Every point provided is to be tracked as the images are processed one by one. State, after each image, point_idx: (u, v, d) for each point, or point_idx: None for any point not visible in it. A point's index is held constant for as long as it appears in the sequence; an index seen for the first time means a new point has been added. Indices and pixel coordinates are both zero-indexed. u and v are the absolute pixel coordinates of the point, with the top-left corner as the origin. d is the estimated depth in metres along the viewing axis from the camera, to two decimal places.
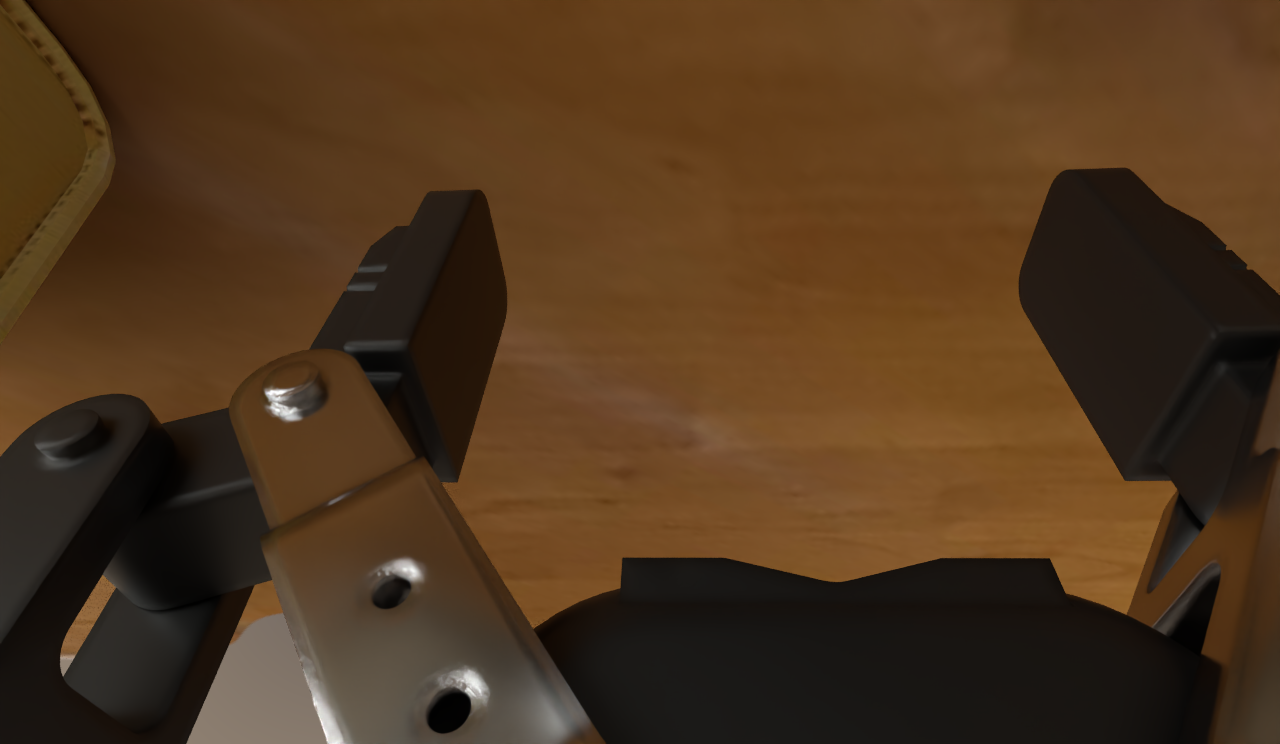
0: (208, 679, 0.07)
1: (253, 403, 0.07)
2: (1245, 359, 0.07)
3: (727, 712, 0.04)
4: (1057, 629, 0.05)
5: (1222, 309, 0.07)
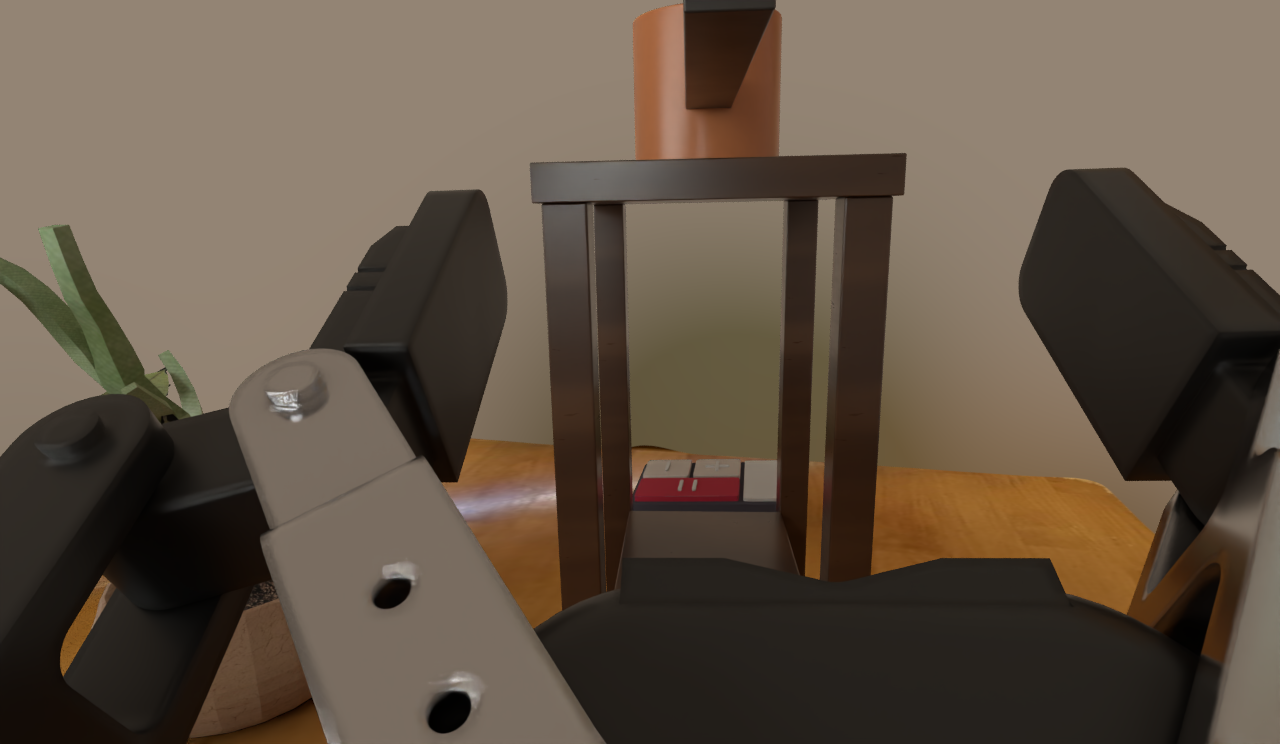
0: (208, 680, 0.07)
1: (253, 403, 0.07)
2: (1244, 359, 0.07)
3: (727, 712, 0.04)
4: (1057, 629, 0.05)
5: (1221, 309, 0.07)
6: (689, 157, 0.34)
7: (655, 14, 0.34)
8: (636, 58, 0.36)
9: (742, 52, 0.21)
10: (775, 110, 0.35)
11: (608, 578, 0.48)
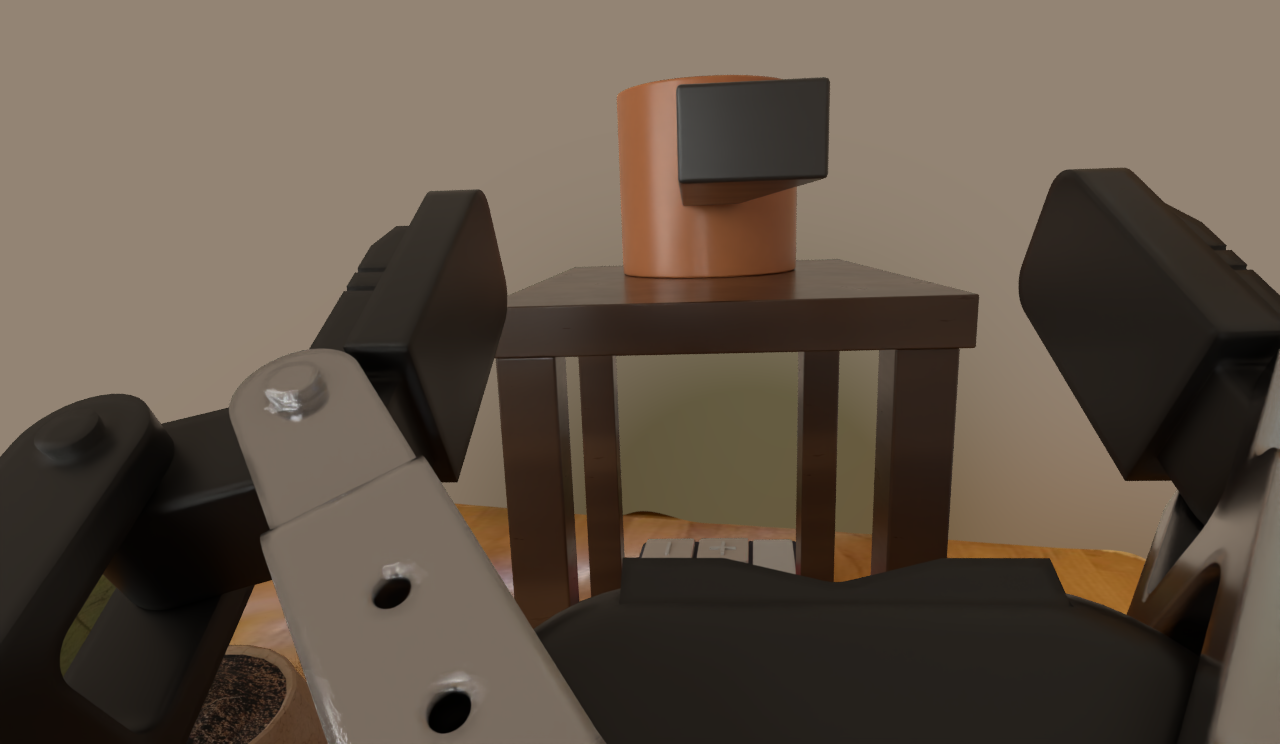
0: (209, 679, 0.07)
1: (253, 403, 0.07)
2: (1244, 359, 0.07)
3: (726, 712, 0.04)
4: (1056, 629, 0.05)
5: (1221, 309, 0.07)
6: (687, 263, 0.28)
7: (643, 90, 0.27)
8: (621, 139, 0.29)
9: (763, 191, 0.15)
10: (791, 200, 0.29)
11: None
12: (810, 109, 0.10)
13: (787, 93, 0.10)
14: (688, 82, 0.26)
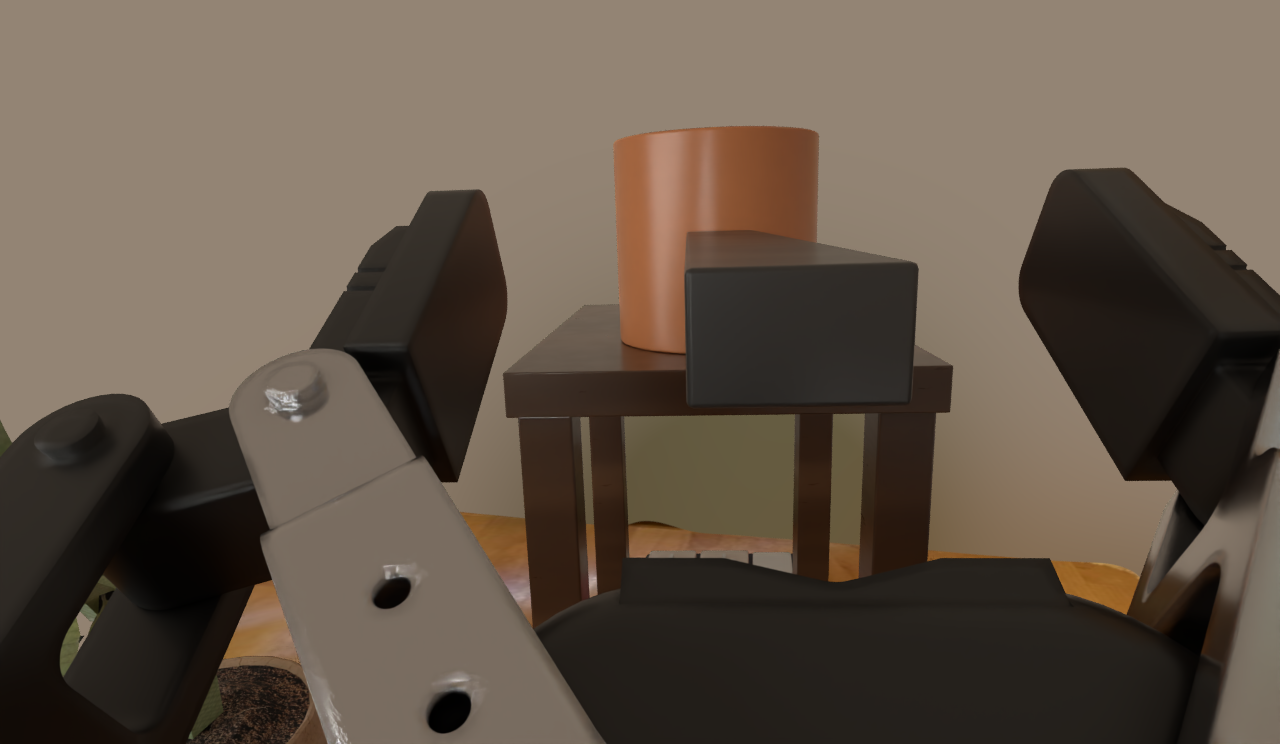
0: (208, 680, 0.07)
1: (253, 403, 0.07)
2: (1245, 359, 0.07)
3: (727, 713, 0.04)
4: (1057, 630, 0.05)
5: (1221, 309, 0.07)
6: None
7: (643, 141, 0.24)
8: (618, 193, 0.26)
9: None
10: None
11: None
12: (888, 309, 0.07)
13: (853, 285, 0.07)
14: (694, 134, 0.23)
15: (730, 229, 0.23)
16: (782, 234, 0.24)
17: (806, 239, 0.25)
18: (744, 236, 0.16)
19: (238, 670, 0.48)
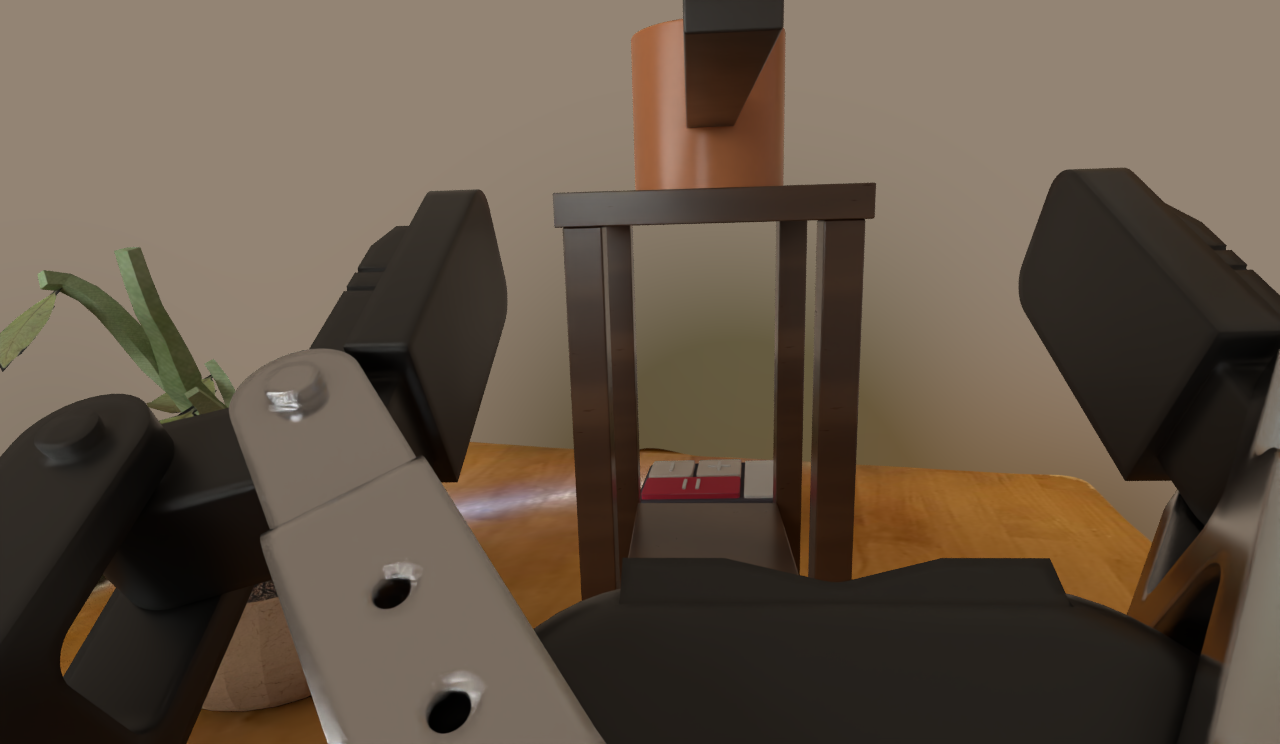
0: (209, 679, 0.07)
1: (253, 403, 0.07)
2: (1245, 359, 0.07)
3: (727, 712, 0.04)
4: (1057, 629, 0.05)
5: (1221, 309, 0.07)
6: (690, 177, 0.33)
7: (654, 30, 0.32)
8: (635, 75, 0.34)
9: (746, 72, 0.20)
10: (779, 127, 0.34)
11: (618, 566, 0.52)
12: None
13: None
14: None
15: None
16: (756, 99, 0.32)
17: (775, 106, 0.33)
18: None
19: None
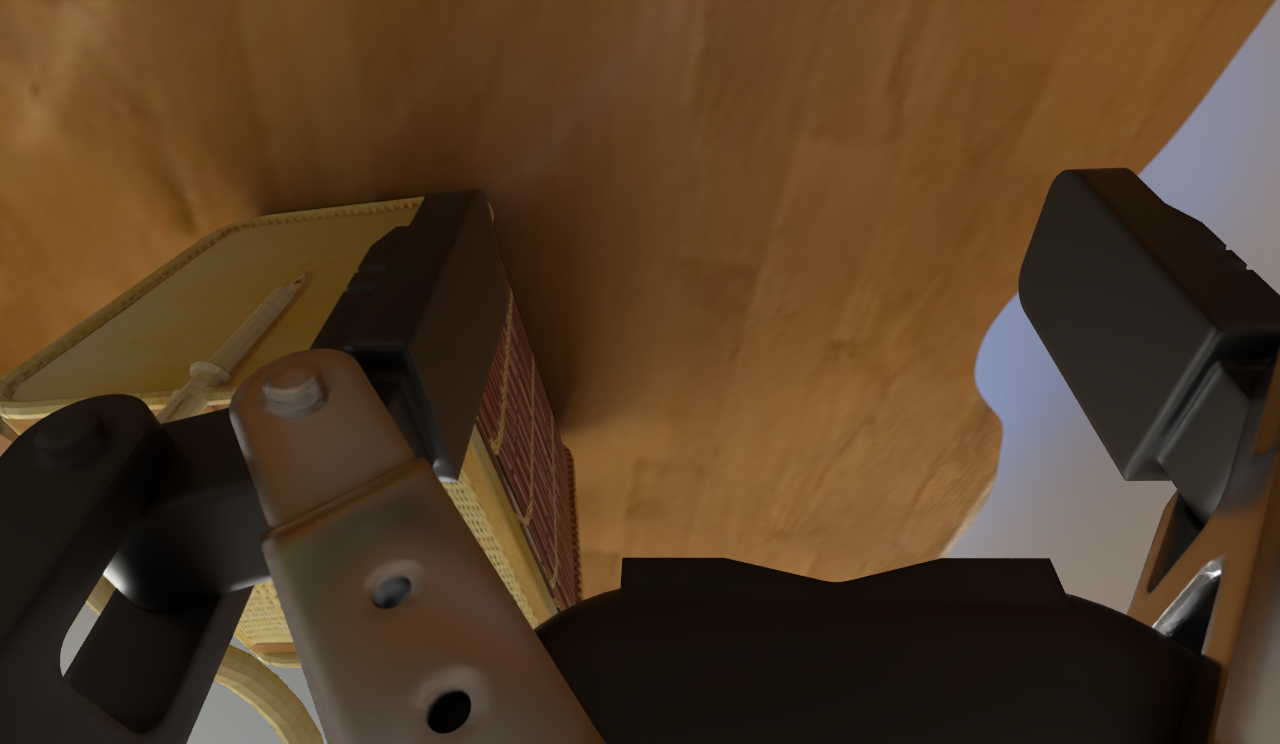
0: (208, 679, 0.07)
1: (253, 403, 0.07)
2: (1245, 359, 0.07)
3: (727, 713, 0.04)
4: (1057, 629, 0.05)
5: (1222, 309, 0.07)
6: None
7: None
8: None
9: None
10: None
11: None
12: None
13: None
14: None
15: None
16: None
17: None
18: None
19: None
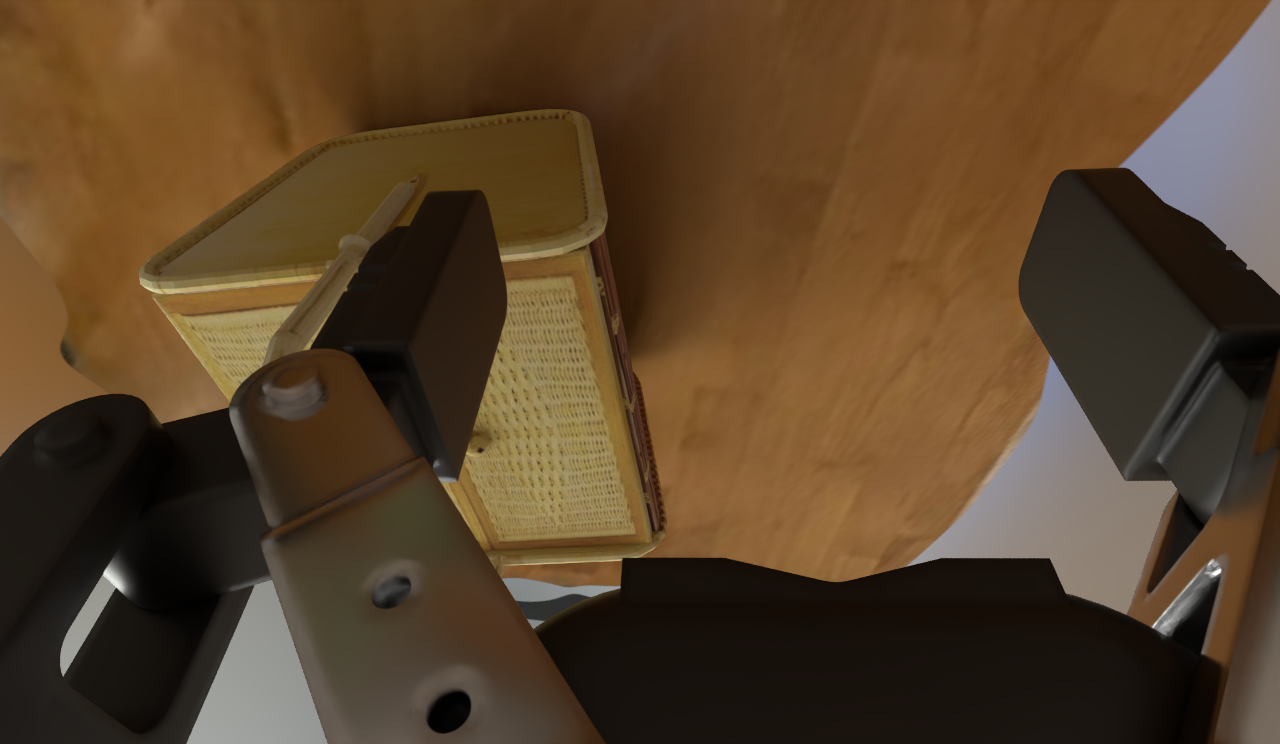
0: (210, 679, 0.07)
1: (253, 403, 0.07)
2: (1245, 359, 0.07)
3: (727, 713, 0.04)
4: (1057, 629, 0.05)
5: (1222, 309, 0.07)
6: None
7: None
8: None
9: None
10: None
11: None
12: None
13: None
14: None
15: None
16: None
17: None
18: None
19: None
